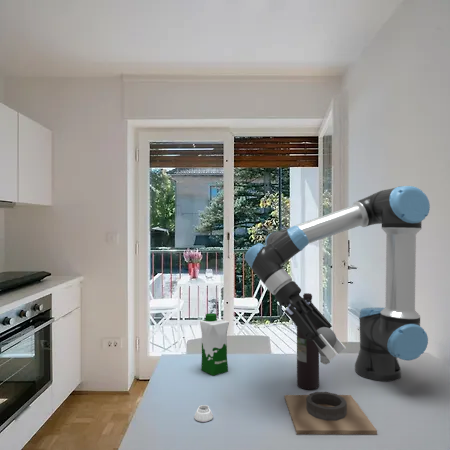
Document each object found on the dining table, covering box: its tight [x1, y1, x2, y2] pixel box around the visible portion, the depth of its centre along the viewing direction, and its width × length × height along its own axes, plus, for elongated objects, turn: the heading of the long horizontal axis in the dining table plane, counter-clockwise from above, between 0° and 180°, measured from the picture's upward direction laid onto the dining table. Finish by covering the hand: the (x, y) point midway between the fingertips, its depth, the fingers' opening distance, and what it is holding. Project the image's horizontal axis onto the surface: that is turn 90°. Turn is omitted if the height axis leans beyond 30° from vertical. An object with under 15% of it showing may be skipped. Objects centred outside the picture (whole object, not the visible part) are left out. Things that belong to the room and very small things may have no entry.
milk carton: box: [199, 312, 230, 377], centre depth 136 cm, size 9×9×20 cm
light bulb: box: [316, 327, 337, 365], centre depth 103 cm, size 6×6×10 cm
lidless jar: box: [193, 404, 214, 423], centre depth 102 cm, size 5×3×5 cm
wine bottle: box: [296, 292, 320, 391], centre depth 122 cm, size 7×7×30 cm
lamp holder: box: [284, 391, 378, 435], centre depth 103 cm, size 20×20×4 cm
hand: (338, 354), depth 101 cm, fingers closed on light bulb, 6 cm apart
